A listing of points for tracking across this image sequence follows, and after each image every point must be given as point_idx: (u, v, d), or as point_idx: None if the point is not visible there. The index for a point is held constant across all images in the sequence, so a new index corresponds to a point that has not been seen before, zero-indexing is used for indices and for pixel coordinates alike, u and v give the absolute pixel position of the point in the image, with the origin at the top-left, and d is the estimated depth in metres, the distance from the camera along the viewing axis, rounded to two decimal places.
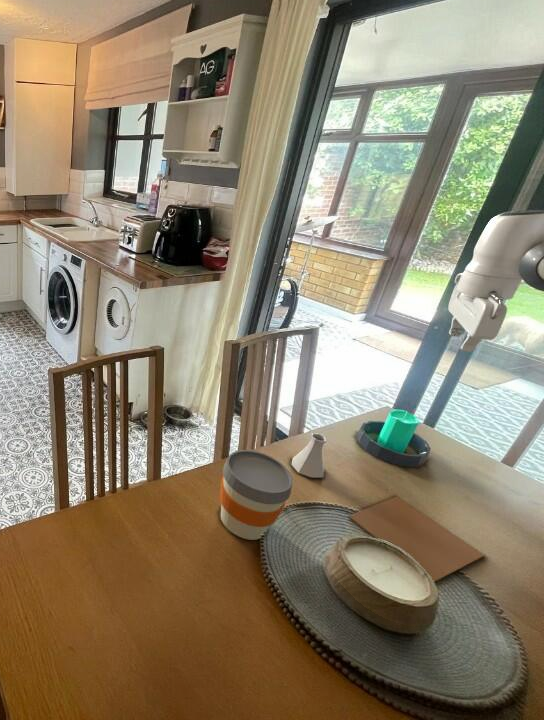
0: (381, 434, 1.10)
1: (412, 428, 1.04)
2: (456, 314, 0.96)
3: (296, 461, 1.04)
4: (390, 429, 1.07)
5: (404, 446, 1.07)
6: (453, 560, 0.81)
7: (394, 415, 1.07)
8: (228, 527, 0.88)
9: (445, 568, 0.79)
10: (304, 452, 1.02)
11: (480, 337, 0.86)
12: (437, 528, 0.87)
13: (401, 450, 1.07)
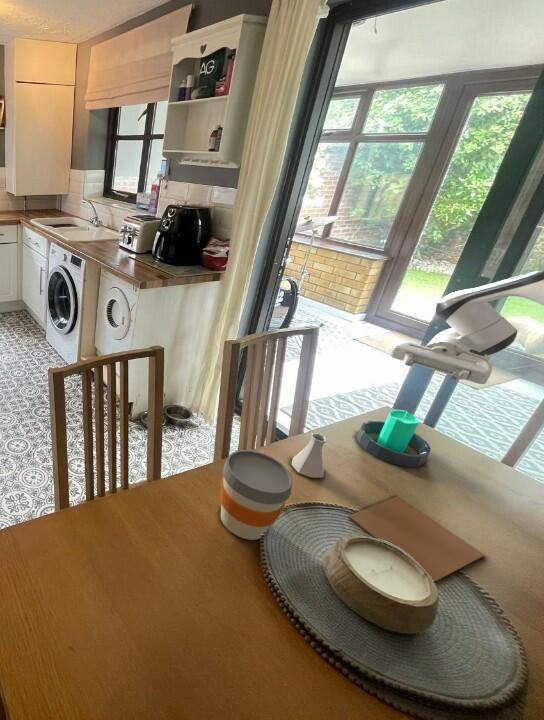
0: (381, 434, 1.10)
1: (412, 428, 1.04)
2: None
3: (296, 461, 1.04)
4: (390, 429, 1.07)
5: (404, 446, 1.07)
6: (453, 560, 0.81)
7: (394, 415, 1.07)
8: (228, 527, 0.88)
9: (445, 568, 0.79)
10: (304, 452, 1.02)
11: (391, 352, 1.19)
12: (437, 528, 0.87)
13: (401, 450, 1.07)
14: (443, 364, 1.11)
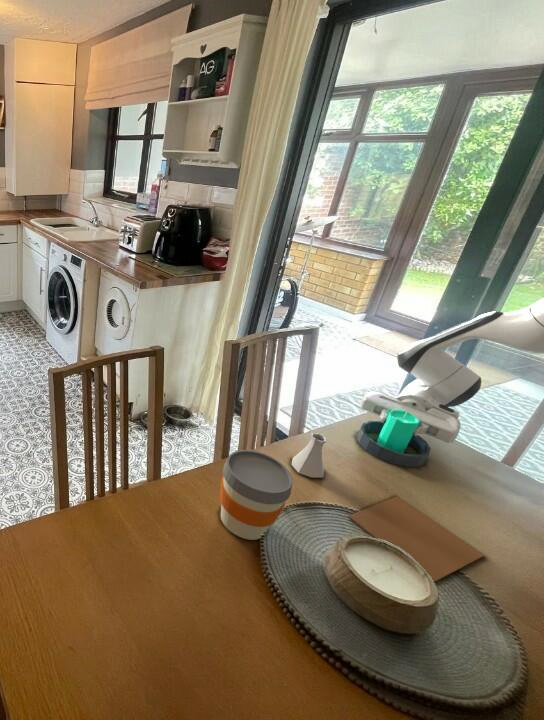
0: (381, 434, 1.10)
1: (412, 428, 1.04)
2: None
3: (296, 461, 1.04)
4: (390, 429, 1.07)
5: (404, 446, 1.07)
6: (453, 560, 0.81)
7: (394, 415, 1.07)
8: (228, 527, 0.88)
9: (445, 568, 0.79)
10: (304, 452, 1.02)
11: (361, 404, 1.17)
12: (437, 528, 0.87)
13: (401, 450, 1.07)
14: None
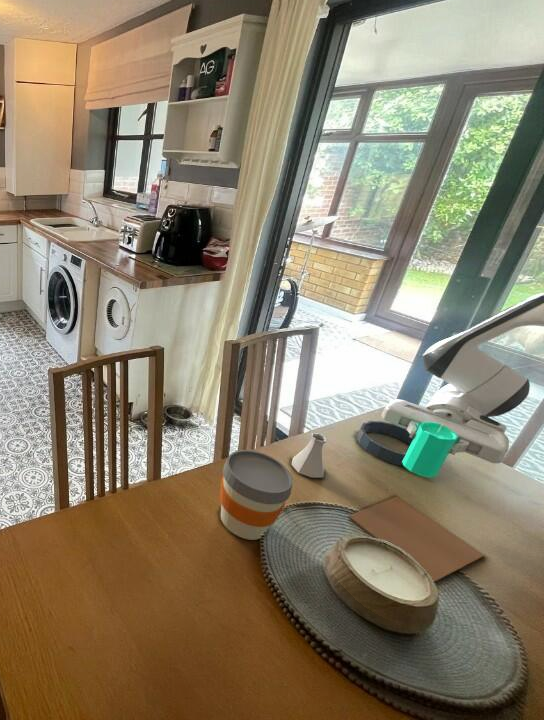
0: (409, 451, 0.91)
1: (449, 445, 0.85)
2: None
3: (296, 461, 1.04)
4: (421, 446, 0.88)
5: (438, 467, 0.87)
6: (453, 560, 0.81)
7: (426, 429, 0.88)
8: (228, 527, 0.88)
9: (445, 568, 0.79)
10: (304, 452, 1.02)
11: (383, 414, 0.98)
12: (437, 528, 0.87)
13: (434, 471, 0.88)
14: None
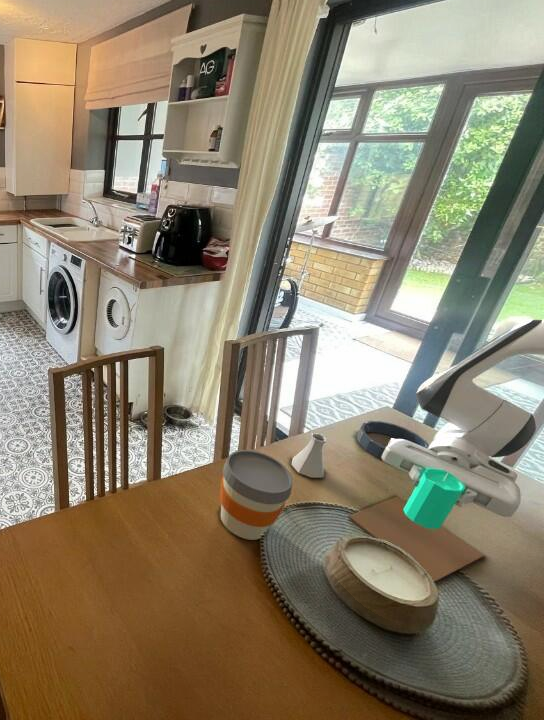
0: (411, 499, 0.83)
1: (456, 496, 0.78)
2: None
3: (296, 461, 1.04)
4: (424, 496, 0.81)
5: (443, 518, 0.80)
6: (453, 560, 0.81)
7: (430, 476, 0.81)
8: (228, 527, 0.88)
9: (445, 568, 0.79)
10: (304, 452, 1.02)
11: (383, 455, 0.90)
12: None
13: (439, 523, 0.81)
14: None
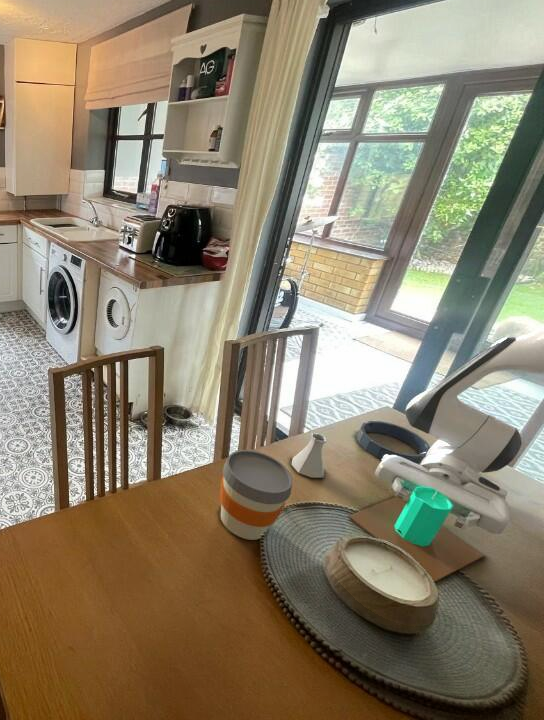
0: (402, 517, 0.86)
1: (444, 515, 0.80)
2: None
3: (296, 461, 1.04)
4: (414, 514, 0.83)
5: (432, 536, 0.82)
6: (453, 560, 0.81)
7: (419, 495, 0.83)
8: (228, 527, 0.88)
9: (445, 568, 0.79)
10: (304, 452, 1.02)
11: (376, 471, 0.92)
12: None
13: (428, 540, 0.83)
14: None
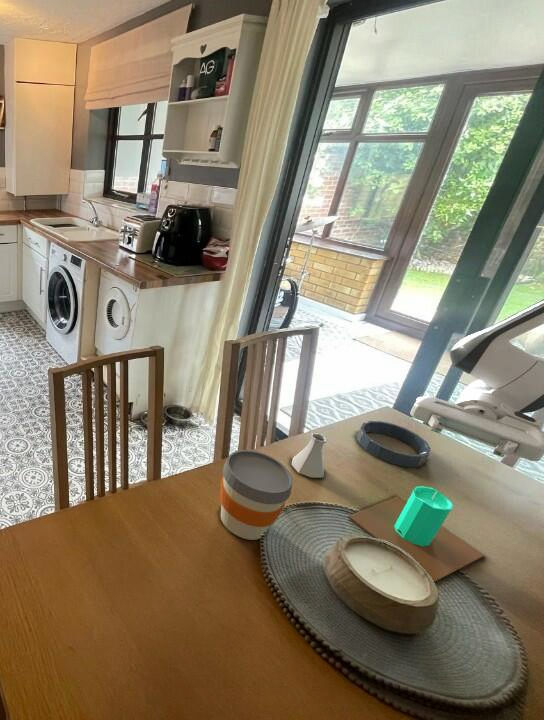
0: (402, 517, 0.86)
1: (444, 515, 0.80)
2: None
3: (296, 461, 1.04)
4: (414, 514, 0.83)
5: (432, 536, 0.82)
6: (453, 560, 0.81)
7: (419, 495, 0.83)
8: (228, 527, 0.88)
9: (445, 568, 0.79)
10: (304, 452, 1.02)
11: (412, 411, 0.94)
12: None
13: (428, 540, 0.83)
14: (481, 431, 0.86)
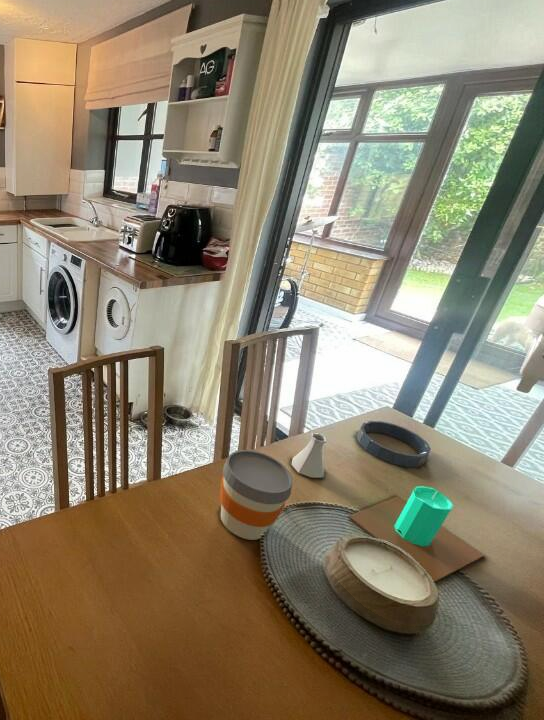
0: (402, 517, 0.86)
1: (444, 515, 0.80)
2: (528, 352, 0.86)
3: (296, 461, 1.04)
4: (414, 514, 0.83)
5: (432, 536, 0.82)
6: (453, 560, 0.81)
7: (419, 495, 0.83)
8: (228, 527, 0.88)
9: (445, 568, 0.79)
10: (304, 452, 1.02)
11: (529, 376, 0.79)
12: None
13: (428, 540, 0.83)
14: None
